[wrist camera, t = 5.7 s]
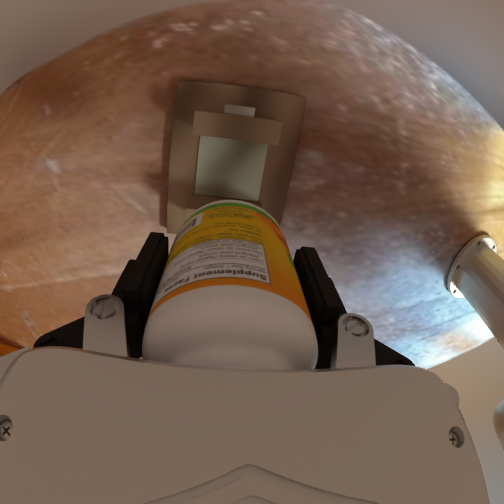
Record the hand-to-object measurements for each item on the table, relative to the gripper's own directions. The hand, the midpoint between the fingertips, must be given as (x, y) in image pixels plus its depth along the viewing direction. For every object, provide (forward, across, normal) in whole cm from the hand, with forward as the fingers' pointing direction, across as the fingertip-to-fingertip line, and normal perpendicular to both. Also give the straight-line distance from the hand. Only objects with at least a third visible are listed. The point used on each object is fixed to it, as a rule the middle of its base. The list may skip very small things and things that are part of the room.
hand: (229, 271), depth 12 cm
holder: (+18, 0, -1) cm, 18 cm away
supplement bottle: (+2, 0, 0) cm, 2 cm away
